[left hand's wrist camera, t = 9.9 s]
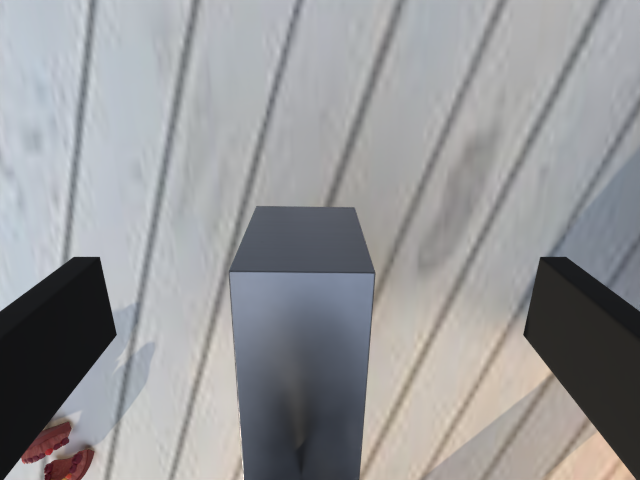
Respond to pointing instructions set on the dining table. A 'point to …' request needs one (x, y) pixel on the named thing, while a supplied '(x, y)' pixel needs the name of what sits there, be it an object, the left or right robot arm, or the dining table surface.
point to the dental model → (58, 473)
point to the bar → (302, 342)
